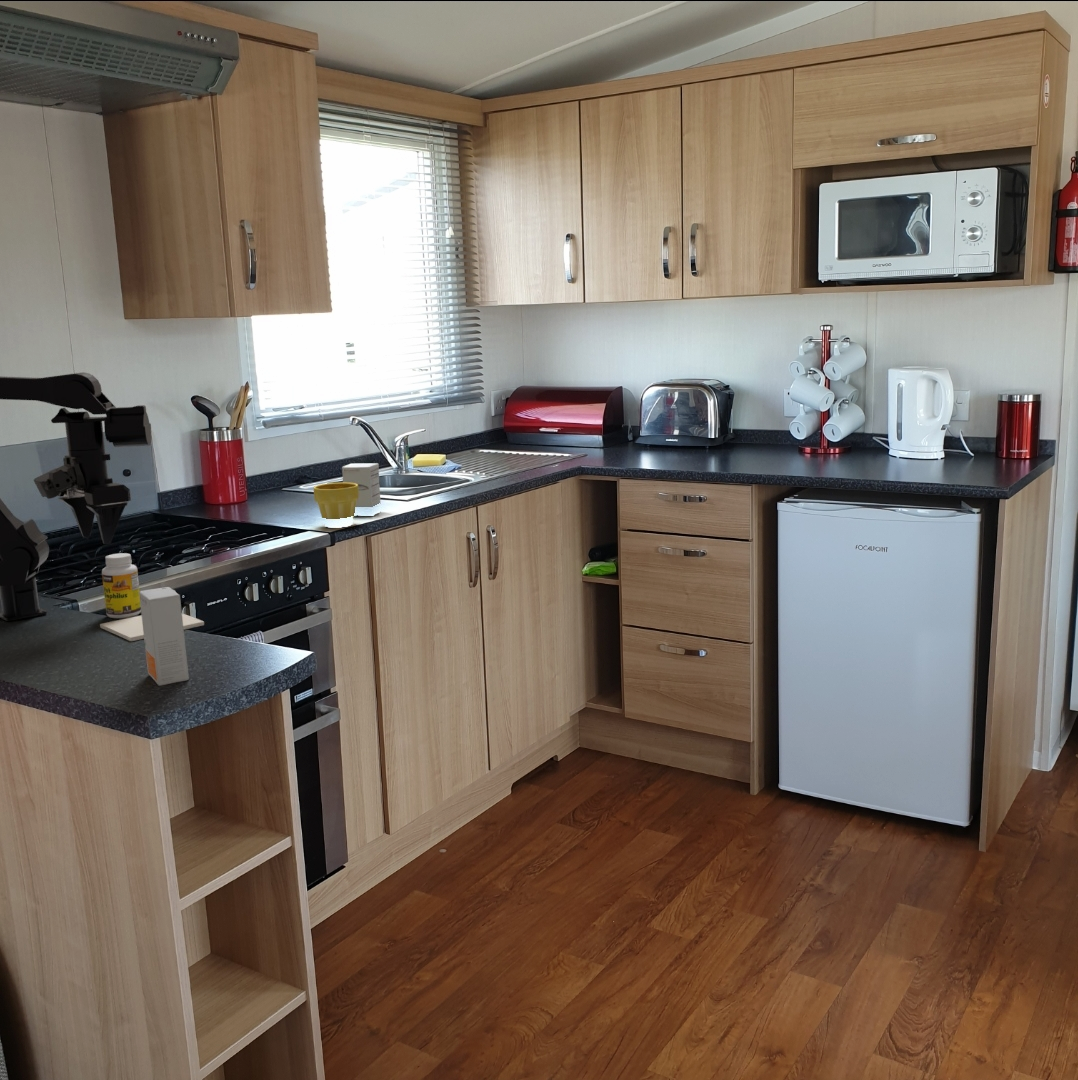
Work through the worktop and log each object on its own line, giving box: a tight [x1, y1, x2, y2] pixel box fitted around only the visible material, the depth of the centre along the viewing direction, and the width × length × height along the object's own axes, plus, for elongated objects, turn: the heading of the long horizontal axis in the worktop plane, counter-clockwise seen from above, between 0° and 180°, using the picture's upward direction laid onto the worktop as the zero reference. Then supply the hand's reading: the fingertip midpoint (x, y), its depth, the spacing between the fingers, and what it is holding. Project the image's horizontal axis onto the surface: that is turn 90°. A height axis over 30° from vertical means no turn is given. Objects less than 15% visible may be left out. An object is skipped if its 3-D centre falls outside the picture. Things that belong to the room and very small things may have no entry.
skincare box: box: [139, 586, 190, 686], centre depth 149 cm, size 6×4×12 cm
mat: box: [99, 612, 205, 642], centre depth 177 cm, size 12×12×1 cm
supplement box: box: [341, 462, 381, 507], centre depth 275 cm, size 7×7×13 cm
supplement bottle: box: [101, 552, 141, 619], centre depth 184 cm, size 6×6×10 cm
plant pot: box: [313, 481, 359, 519], centre depth 260 cm, size 10×10×10 cm
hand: (96, 540), depth 187 cm, fingers open, 9 cm apart
